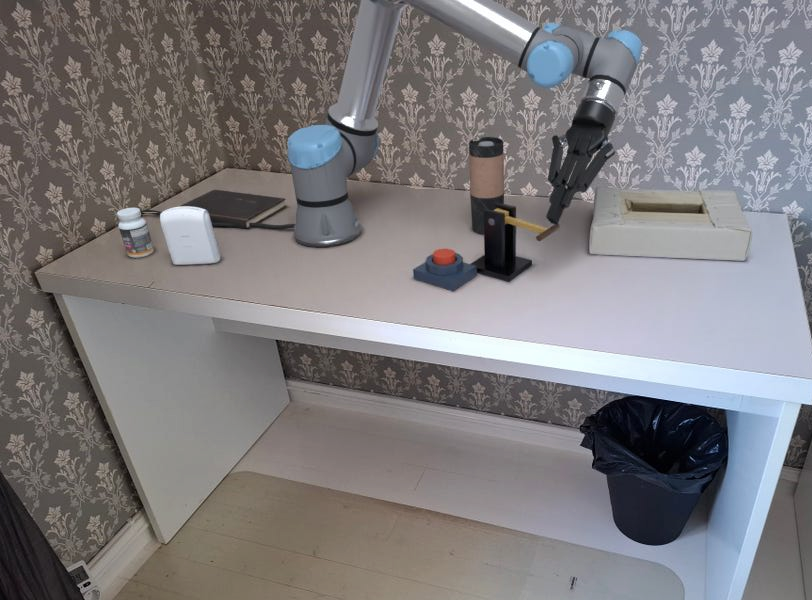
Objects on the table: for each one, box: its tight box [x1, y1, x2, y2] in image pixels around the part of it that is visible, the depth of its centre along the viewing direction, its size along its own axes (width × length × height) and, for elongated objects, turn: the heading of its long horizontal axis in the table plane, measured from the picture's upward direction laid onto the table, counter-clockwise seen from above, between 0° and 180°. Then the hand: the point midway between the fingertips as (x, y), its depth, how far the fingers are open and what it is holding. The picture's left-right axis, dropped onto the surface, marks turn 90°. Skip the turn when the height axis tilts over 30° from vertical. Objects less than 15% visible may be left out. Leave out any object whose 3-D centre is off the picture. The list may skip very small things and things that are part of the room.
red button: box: [432, 248, 456, 265], centre depth 134 cm, size 4×4×2 cm
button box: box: [412, 252, 478, 292], centre depth 136 cm, size 10×8×4 cm
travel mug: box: [468, 136, 505, 235], centre depth 152 cm, size 8×8×20 cm
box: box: [588, 186, 753, 262], centre depth 148 cm, size 23×8×32 cm
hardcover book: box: [178, 188, 288, 230], centre depth 172 cm, size 16×23×2 cm
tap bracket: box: [470, 203, 533, 283], centre depth 136 cm, size 10×9×13 cm
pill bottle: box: [116, 207, 155, 259], centre depth 150 cm, size 6×6×10 cm
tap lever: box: [493, 208, 561, 242], centre depth 131 cm, size 13×7×2 cm, turn 54°
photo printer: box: [159, 205, 221, 266], centre depth 144 cm, size 10×4×12 cm, turn 90°
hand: (551, 220), depth 128 cm, fingers closed
